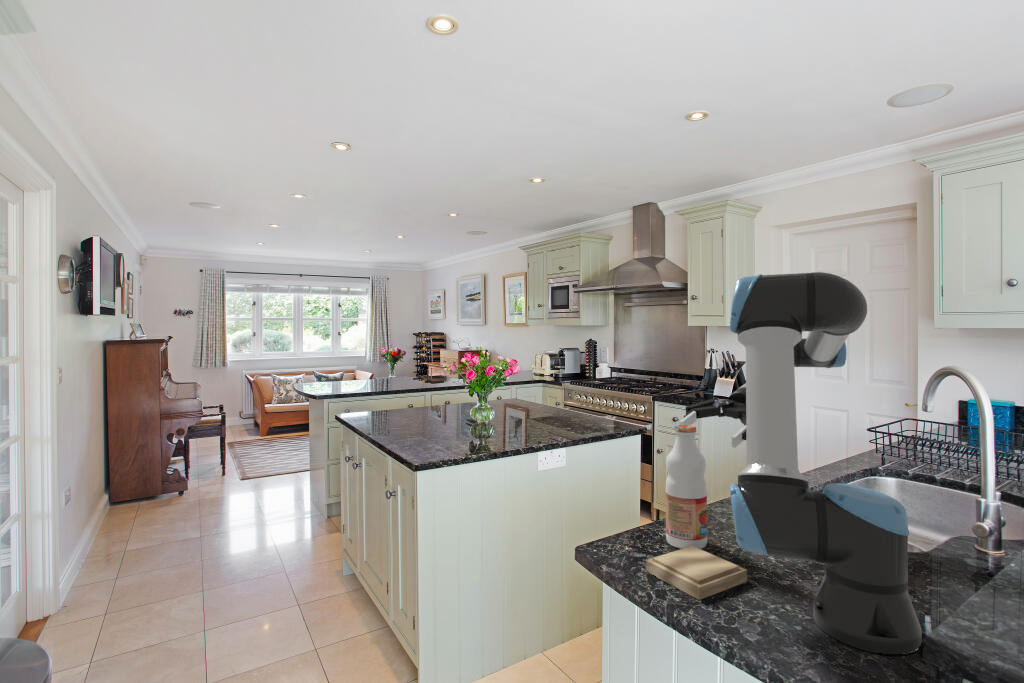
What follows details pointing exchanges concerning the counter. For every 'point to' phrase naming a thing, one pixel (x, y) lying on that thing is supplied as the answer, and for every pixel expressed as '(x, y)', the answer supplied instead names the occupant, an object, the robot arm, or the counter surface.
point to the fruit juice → (686, 492)
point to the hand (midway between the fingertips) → (706, 434)
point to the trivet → (696, 572)
